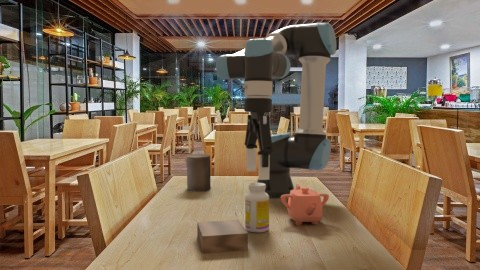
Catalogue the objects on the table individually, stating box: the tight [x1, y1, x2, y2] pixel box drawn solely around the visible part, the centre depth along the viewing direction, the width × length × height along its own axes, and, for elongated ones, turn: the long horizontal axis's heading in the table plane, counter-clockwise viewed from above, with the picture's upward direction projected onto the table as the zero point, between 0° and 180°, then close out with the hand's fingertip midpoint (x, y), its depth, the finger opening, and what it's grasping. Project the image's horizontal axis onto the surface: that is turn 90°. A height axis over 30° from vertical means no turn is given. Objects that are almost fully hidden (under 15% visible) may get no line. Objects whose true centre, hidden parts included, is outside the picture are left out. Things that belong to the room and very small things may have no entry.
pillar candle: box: [186, 152, 212, 192], centre depth 161 cm, size 10×10×15 cm
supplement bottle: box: [244, 182, 270, 234], centre depth 110 cm, size 7×7×13 cm
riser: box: [196, 219, 249, 254], centre depth 100 cm, size 11×11×4 cm
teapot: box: [280, 183, 330, 226], centre depth 118 cm, size 14×12×10 cm
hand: (257, 175), depth 109 cm, fingers open, 13 cm apart
